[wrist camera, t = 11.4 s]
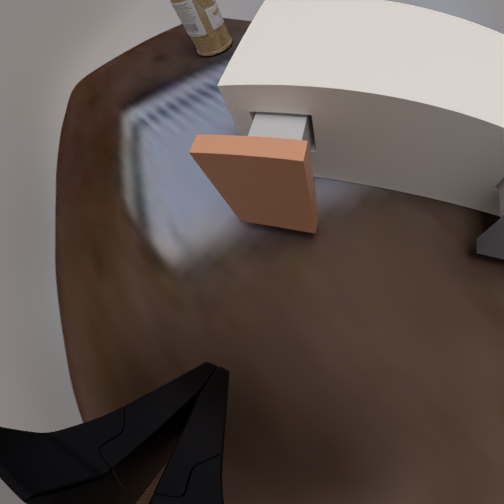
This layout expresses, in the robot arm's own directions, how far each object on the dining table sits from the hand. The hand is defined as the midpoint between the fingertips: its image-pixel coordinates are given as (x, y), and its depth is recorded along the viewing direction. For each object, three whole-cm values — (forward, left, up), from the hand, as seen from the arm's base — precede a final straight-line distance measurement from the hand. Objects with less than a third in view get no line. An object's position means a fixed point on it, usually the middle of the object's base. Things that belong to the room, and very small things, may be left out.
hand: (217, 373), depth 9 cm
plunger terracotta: (+13, +8, -8) cm, 17 cm away
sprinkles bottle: (+20, +27, -10) cm, 35 cm away
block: (+20, +3, -10) cm, 22 cm away
